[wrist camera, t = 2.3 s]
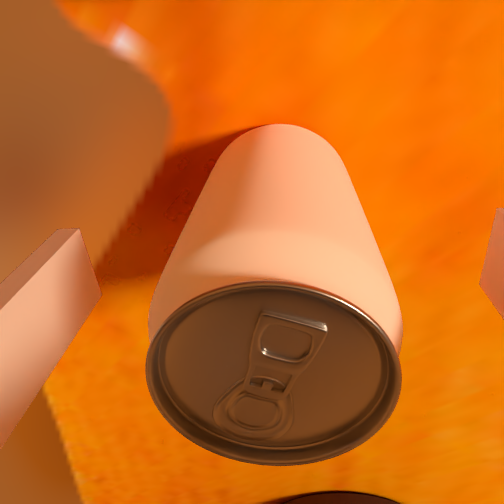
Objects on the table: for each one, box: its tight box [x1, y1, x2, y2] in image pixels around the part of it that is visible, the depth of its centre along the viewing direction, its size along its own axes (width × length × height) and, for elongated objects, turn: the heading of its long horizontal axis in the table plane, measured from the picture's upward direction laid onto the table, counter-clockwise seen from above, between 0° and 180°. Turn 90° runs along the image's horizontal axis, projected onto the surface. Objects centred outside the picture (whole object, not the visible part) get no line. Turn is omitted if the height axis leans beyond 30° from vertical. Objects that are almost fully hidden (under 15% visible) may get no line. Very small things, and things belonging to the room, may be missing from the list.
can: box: [146, 124, 403, 466], centre depth 14 cm, size 6×6×12 cm
